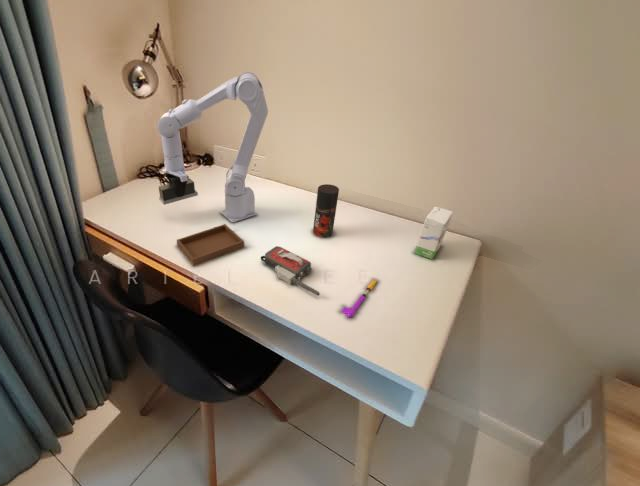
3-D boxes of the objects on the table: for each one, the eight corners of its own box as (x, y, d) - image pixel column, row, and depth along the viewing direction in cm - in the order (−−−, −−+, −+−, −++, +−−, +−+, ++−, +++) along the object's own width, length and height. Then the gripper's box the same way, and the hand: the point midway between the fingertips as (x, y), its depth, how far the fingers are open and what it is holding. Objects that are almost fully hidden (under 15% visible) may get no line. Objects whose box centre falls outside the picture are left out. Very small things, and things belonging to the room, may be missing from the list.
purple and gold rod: (351, 319, 80) (377, 282, 90) (350, 315, 79) (377, 278, 90) (340, 315, 82) (367, 280, 92) (339, 311, 81) (367, 276, 91)
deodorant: (336, 231, 110) (342, 188, 101) (325, 240, 106) (332, 195, 98) (319, 225, 113) (325, 182, 105) (309, 232, 109) (313, 189, 101)
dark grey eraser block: (193, 191, 120) (191, 177, 118) (198, 195, 118) (196, 181, 115) (159, 200, 115) (157, 186, 113) (163, 204, 113) (161, 190, 110)
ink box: (432, 260, 97) (445, 223, 90) (413, 253, 100) (425, 217, 93) (441, 246, 102) (454, 210, 96) (423, 240, 105) (434, 205, 98)
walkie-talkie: (254, 265, 97) (316, 300, 85) (254, 252, 94) (317, 287, 82) (275, 251, 102) (335, 283, 90) (276, 238, 99) (338, 269, 87)
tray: (225, 230, 112) (225, 223, 111) (244, 247, 104) (244, 241, 102) (177, 246, 105) (176, 239, 104) (193, 266, 97) (192, 259, 96)
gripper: (152, 149, 112) (159, 188, 119) (169, 164, 101) (175, 206, 109) (173, 145, 115) (178, 183, 122) (192, 159, 104) (196, 200, 112)
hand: (178, 193), depth 116 cm, fingers closed on dark grey eraser block, 3 cm apart
